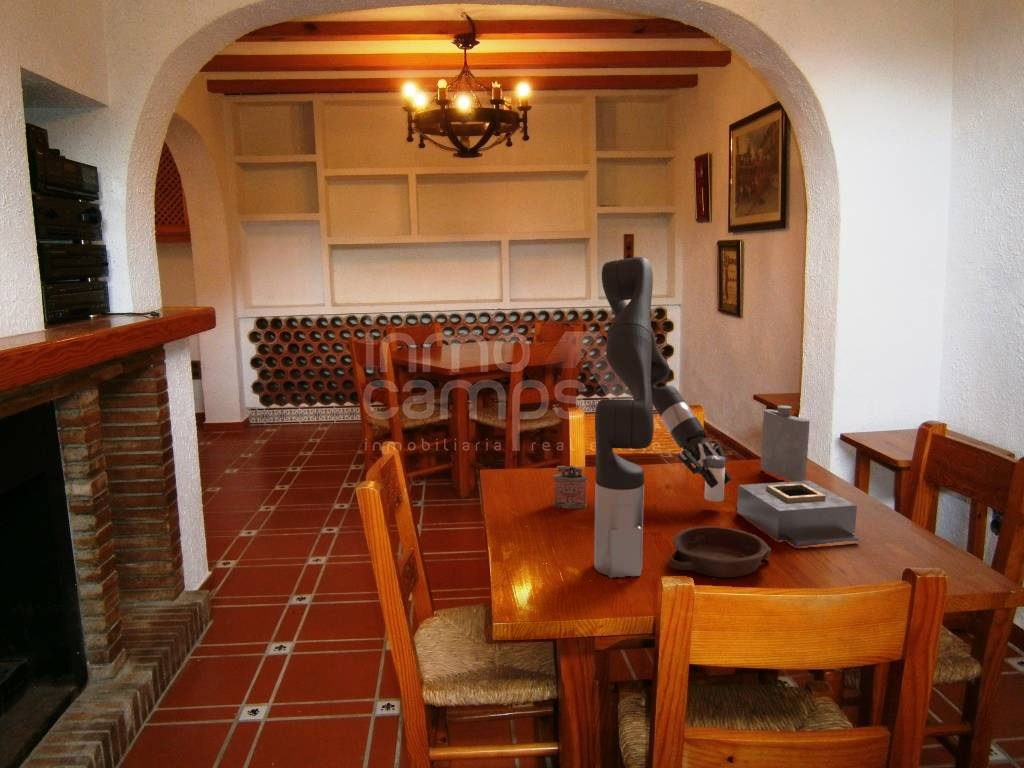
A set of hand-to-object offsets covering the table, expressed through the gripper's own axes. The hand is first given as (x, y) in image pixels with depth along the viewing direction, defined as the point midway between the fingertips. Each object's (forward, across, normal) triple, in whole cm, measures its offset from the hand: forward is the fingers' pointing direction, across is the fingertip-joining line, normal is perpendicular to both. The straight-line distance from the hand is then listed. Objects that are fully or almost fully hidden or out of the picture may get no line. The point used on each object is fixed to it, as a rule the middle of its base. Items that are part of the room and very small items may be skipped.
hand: (721, 483), depth 173 cm
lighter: (-13, -25, +23) cm, 36 cm away
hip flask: (0, +35, +10) cm, 36 cm away
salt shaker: (+2, 0, +4) cm, 5 cm away
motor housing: (+16, +6, -6) cm, 18 cm away
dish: (+19, -25, -8) cm, 32 cm away
